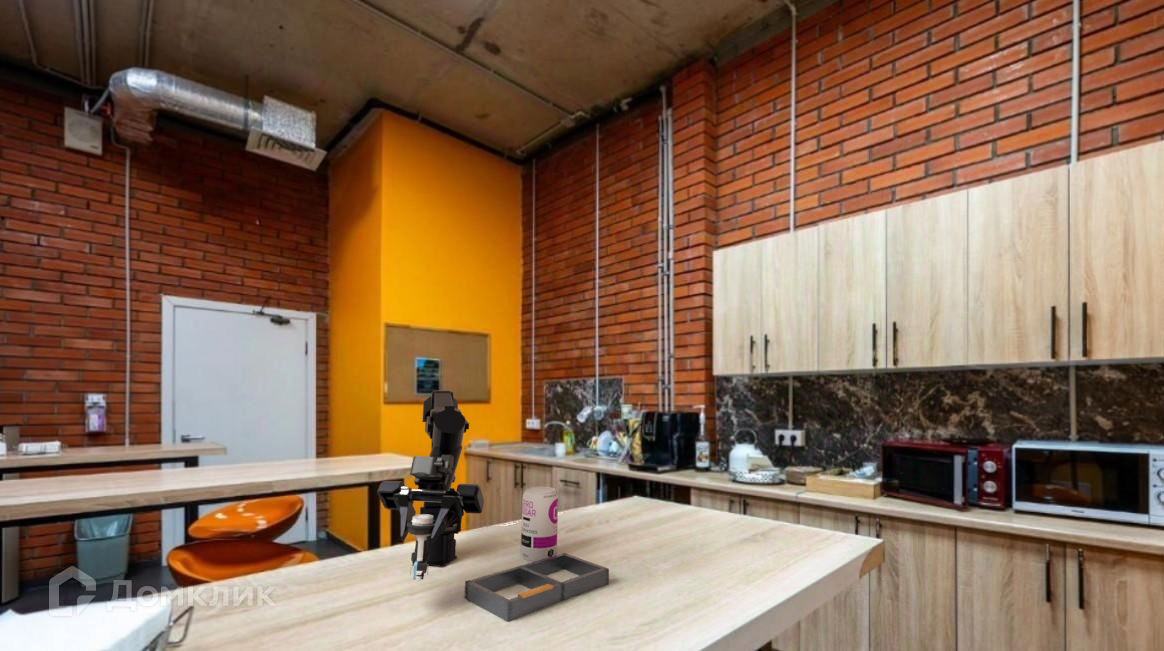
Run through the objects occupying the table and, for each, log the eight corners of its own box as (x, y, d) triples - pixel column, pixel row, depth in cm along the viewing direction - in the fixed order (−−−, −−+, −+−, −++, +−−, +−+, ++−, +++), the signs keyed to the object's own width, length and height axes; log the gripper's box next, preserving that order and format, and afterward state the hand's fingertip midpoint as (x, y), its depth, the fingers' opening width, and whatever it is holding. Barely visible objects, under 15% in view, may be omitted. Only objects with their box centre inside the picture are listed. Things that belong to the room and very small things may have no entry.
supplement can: (561, 553, 128) (563, 487, 129) (548, 565, 120) (550, 494, 121) (529, 549, 130) (531, 485, 132) (514, 560, 123) (516, 491, 124)
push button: (433, 583, 93) (437, 522, 94) (400, 584, 92) (405, 523, 93) (435, 569, 100) (439, 512, 101) (404, 570, 99) (408, 513, 99)
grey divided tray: (464, 598, 101) (465, 579, 102) (564, 567, 119) (564, 551, 119) (508, 622, 92) (508, 600, 92) (609, 584, 109) (609, 566, 110)
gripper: (384, 436, 103) (350, 512, 91) (481, 439, 101) (460, 517, 89) (399, 472, 110) (370, 546, 98) (491, 475, 108) (473, 551, 96)
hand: (417, 539), depth 95 cm, fingers closed on push button, 5 cm apart
